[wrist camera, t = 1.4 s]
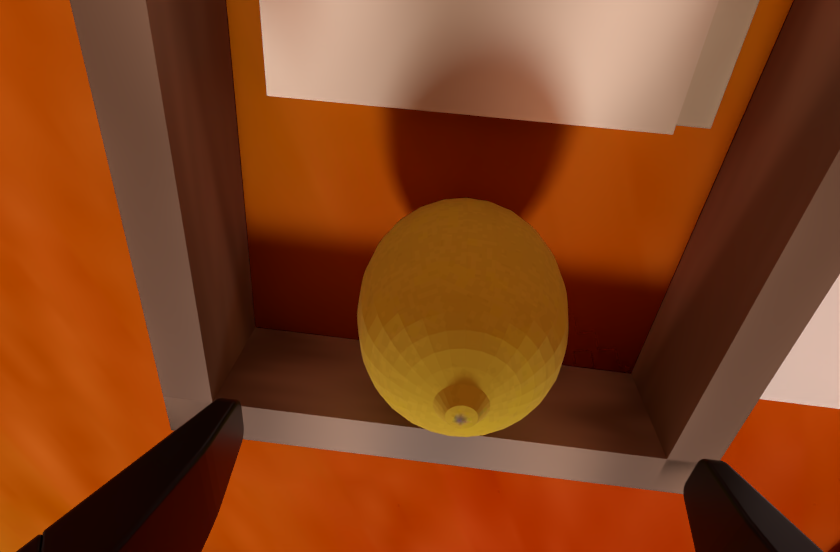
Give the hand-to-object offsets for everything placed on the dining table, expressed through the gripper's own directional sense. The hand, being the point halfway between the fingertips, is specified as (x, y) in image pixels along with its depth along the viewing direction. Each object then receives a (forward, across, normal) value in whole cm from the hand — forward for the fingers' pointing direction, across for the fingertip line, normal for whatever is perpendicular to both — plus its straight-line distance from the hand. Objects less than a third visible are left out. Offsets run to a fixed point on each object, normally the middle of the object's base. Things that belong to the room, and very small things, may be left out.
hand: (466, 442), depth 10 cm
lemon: (+9, 0, 0) cm, 9 cm away
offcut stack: (+9, 0, -7) cm, 11 cm away
